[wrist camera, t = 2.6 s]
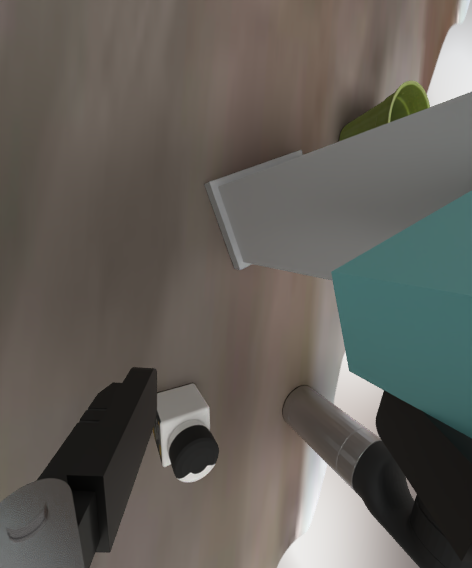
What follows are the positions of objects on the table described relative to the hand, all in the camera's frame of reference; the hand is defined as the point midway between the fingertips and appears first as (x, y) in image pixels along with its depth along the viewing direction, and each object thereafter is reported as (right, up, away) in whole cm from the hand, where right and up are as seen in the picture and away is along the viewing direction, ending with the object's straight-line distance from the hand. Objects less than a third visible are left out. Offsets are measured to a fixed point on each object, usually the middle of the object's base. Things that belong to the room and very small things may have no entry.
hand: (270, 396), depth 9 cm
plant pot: (+21, +32, +42) cm, 56 cm away
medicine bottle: (-12, -16, +33) cm, 39 cm away
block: (+14, +8, +5) cm, 17 cm away
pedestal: (+4, +17, +35) cm, 39 cm away
